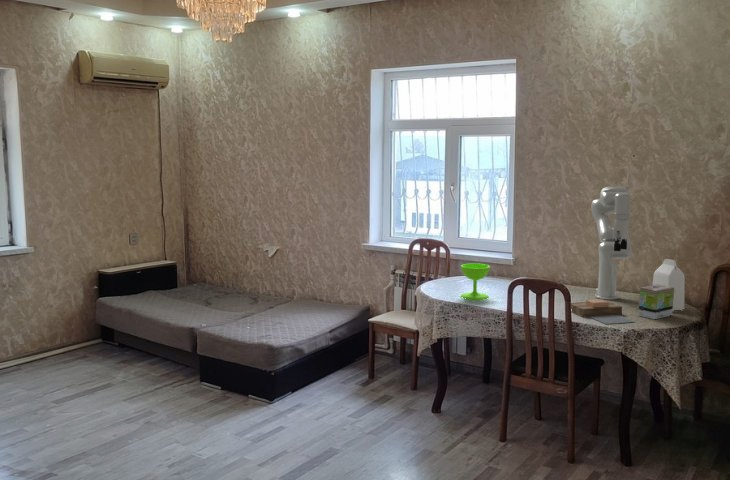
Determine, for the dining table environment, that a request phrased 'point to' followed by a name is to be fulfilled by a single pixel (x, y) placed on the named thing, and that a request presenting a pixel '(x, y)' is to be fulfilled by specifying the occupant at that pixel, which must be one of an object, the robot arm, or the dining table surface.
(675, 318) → the dining table surface
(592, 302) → the tile
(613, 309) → the brown flat block
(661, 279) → the milk
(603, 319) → the mat
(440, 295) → the dining table surface
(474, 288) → the wineglass
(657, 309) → the tea box
